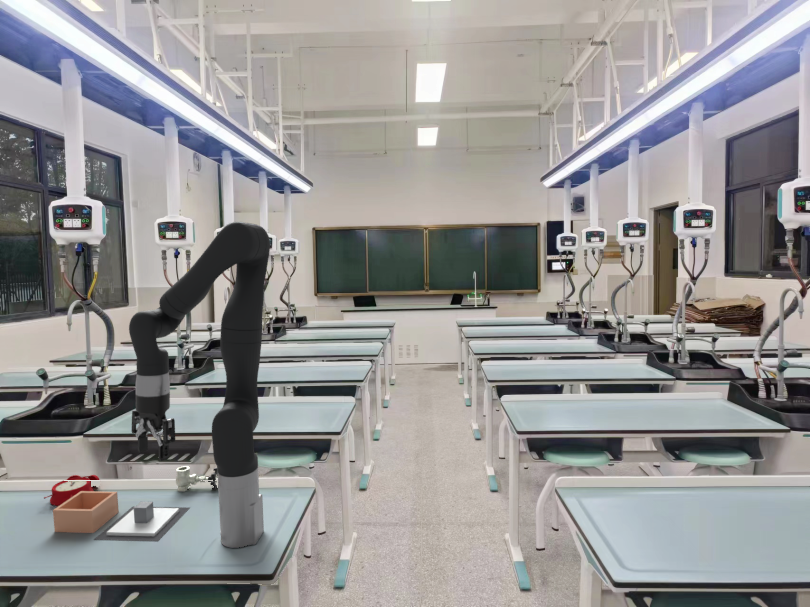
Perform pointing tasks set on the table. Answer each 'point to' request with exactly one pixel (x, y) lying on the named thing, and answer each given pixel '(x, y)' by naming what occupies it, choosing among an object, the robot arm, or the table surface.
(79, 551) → the table surface
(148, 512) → the lid
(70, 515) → the tub
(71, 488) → the alarm clock
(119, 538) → the mat
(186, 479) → the valve
